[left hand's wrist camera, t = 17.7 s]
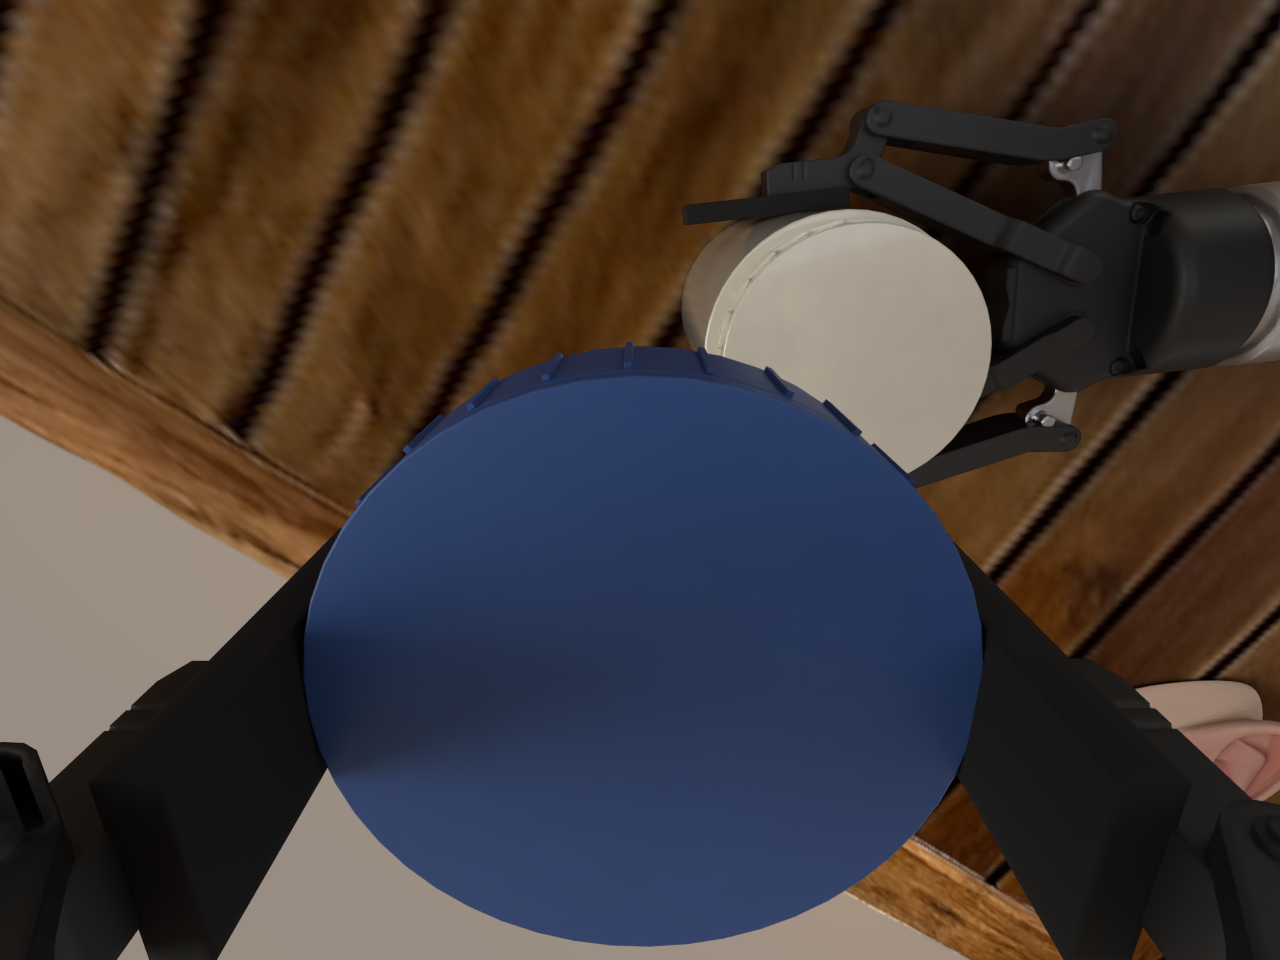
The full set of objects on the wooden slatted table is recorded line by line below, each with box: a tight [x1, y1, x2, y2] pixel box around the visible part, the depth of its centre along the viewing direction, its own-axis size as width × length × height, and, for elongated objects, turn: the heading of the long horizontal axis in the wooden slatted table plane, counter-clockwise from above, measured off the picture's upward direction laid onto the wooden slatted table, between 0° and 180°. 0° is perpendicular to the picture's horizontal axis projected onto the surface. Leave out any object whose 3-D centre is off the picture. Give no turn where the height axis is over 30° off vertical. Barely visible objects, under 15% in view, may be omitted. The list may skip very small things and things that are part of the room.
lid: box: [303, 342, 984, 947], centre depth 11 cm, size 10×10×2 cm
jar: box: [682, 209, 992, 473], centre depth 29 cm, size 9×9×16 cm
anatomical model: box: [1135, 681, 1280, 801], centre depth 45 cm, size 13×4×12 cm
